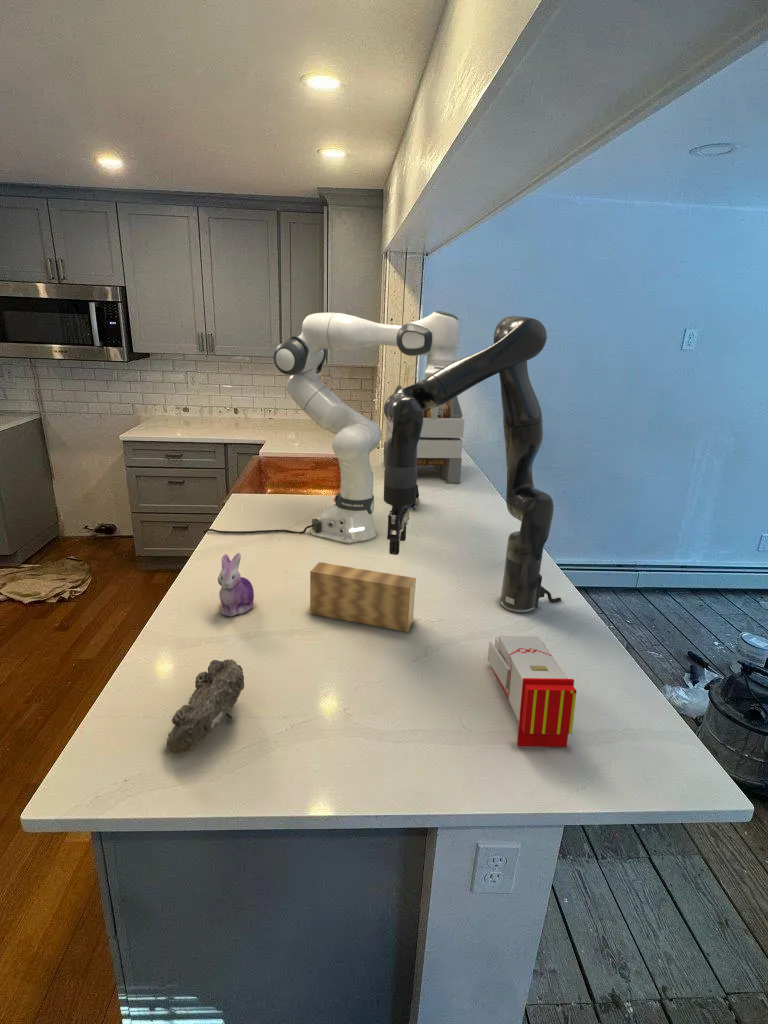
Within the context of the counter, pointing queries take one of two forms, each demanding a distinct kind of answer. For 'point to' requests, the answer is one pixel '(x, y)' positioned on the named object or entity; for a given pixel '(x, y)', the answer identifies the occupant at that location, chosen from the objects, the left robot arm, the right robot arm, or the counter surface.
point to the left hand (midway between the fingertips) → (436, 417)
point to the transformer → (439, 440)
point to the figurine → (234, 588)
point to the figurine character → (416, 500)
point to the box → (362, 596)
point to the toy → (534, 690)
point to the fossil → (206, 705)
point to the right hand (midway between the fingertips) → (397, 546)
